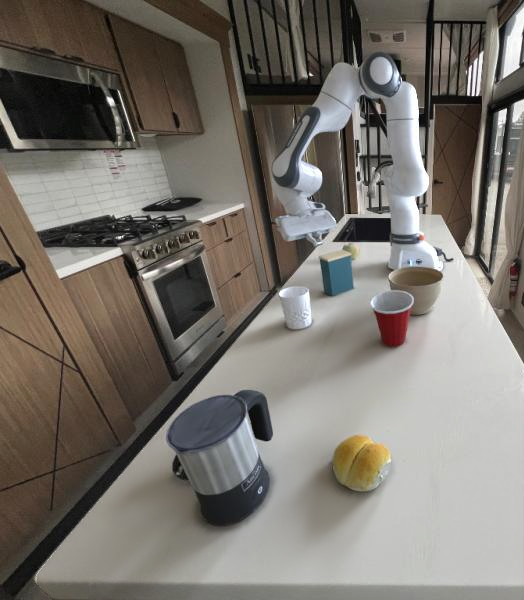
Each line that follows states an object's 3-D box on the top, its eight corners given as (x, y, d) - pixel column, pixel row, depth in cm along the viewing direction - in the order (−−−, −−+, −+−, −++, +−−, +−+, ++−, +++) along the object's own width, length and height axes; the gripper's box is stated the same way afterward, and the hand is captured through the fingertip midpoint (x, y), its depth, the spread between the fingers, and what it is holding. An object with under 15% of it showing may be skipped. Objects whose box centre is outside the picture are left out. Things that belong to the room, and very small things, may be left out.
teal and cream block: (323, 292, 112) (318, 256, 106) (345, 284, 118) (341, 249, 112) (332, 296, 108) (327, 259, 103) (354, 288, 114) (351, 252, 109)
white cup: (319, 319, 94) (314, 287, 90) (303, 332, 88) (297, 299, 83) (296, 315, 97) (290, 284, 92) (279, 328, 90) (272, 295, 86)
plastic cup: (363, 343, 82) (359, 301, 77) (389, 326, 90) (388, 286, 85) (396, 358, 76) (395, 314, 71) (422, 338, 84) (422, 296, 79)
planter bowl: (419, 292, 109) (419, 262, 105) (453, 310, 98) (455, 276, 93) (379, 306, 101) (377, 273, 96) (411, 327, 89) (410, 291, 84)
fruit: (358, 261, 140) (357, 243, 137) (342, 261, 140) (340, 243, 137) (361, 255, 147) (359, 238, 144) (344, 256, 147) (343, 238, 144)
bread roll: (355, 436, 56) (353, 419, 54) (398, 460, 52) (398, 443, 50) (321, 473, 50) (317, 455, 48) (366, 504, 45) (364, 486, 44)
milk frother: (258, 525, 43) (231, 447, 37) (135, 536, 42) (85, 458, 36) (284, 438, 56) (267, 369, 50) (190, 445, 55) (160, 376, 49)
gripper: (274, 211, 105) (294, 246, 103) (327, 203, 118) (346, 233, 116) (270, 223, 110) (289, 256, 108) (322, 214, 123) (339, 243, 121)
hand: (319, 244), depth 112 cm, fingers closed
